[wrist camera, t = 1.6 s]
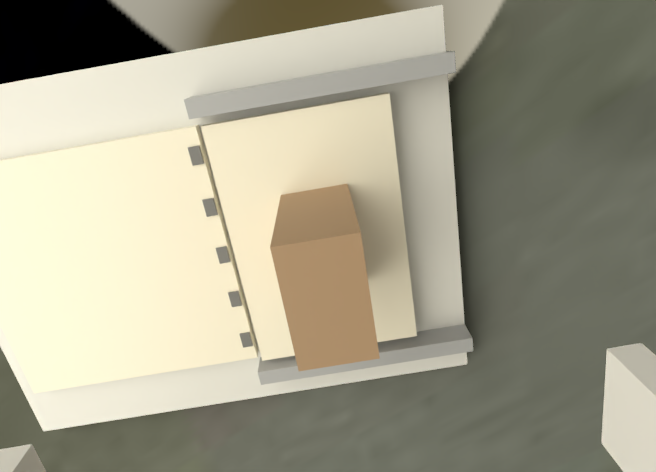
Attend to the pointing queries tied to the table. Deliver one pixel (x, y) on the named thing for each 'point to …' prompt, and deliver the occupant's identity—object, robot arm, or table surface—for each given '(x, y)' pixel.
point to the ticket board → (199, 219)
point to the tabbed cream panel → (317, 228)
